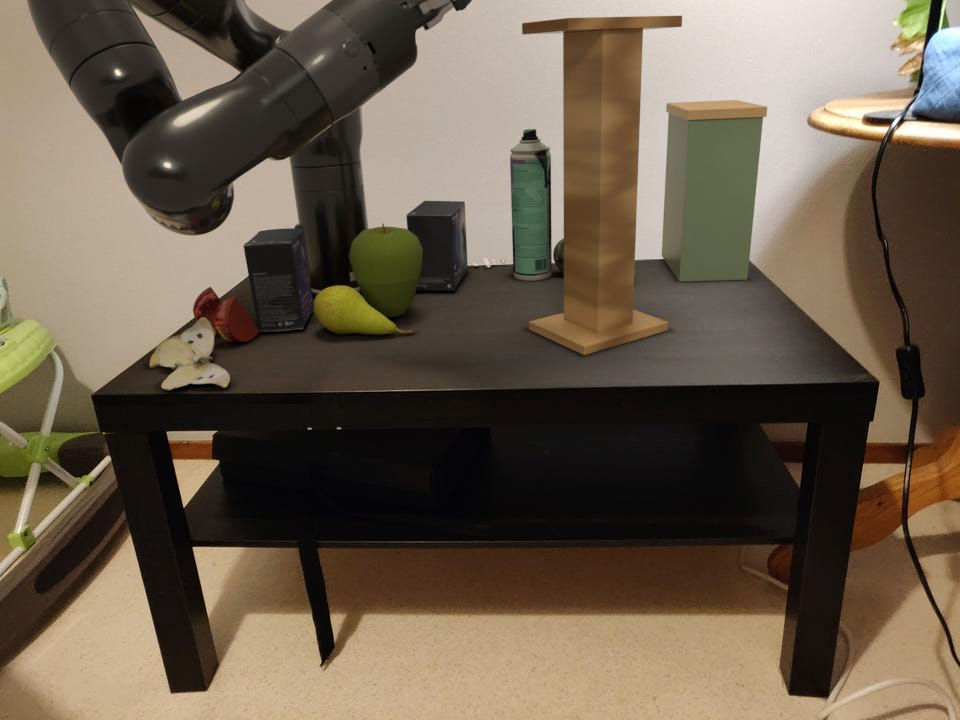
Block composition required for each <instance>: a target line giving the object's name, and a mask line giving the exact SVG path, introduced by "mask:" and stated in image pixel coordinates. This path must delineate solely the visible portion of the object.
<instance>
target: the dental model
mask: <svg viewBox="0 0 960 720" xmlns="http://www.w3.org/2000/svg"><path fill="white" fill-rule="evenodd" d="M192 313H193V317H194V319H195V321H196V322H197V321H198V320H199V319H200V318H203V317H204V318H206V319H207V320H208V321H209V322H210V324H211V325H212V328H213V332H214V337H215V336H216V335H218V336H220V337H222V338H223V339H224V340H225V341H227V342H228V343H229V342H230V343H239V342H240V343H246V342H249V341H251V340H253V339H254V338H255V337H256V336H257V335H258V333H259V332H260V331H259V330H258V328H257V325H256V324H255V322H254V321H253V319H252V318H251V317H250V316H249V314H248V312H246V310H245V308H244V307H243V306H242V304H241V302H240V301H239V300H238V299H237V297H236V296H230V297H229V296H228V297H227V298H226V299H225V300H224V301H222V300H221V298H220V297H219V296H218V294H217V293H216V292H215V290H214V289H213V288H212V286H209V287H207V288H206V289H204V290H203V291H201V292H200V294H199V295H198V296H197V298H196V299H195V301H194V303H193V307H192Z"/></svg>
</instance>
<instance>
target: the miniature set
mask: <svg viewBox="0 0 960 720" xmlns="http://www.w3.org/2000/svg"><path fill="white" fill-rule="evenodd" d="M481 261H484V265H485V267H486V268H488V269H490V267H491V264H490V262H489V258H486V257H484V258H483V259H481ZM490 261H491V262H492V263H493V265H494V266H497V262H496V258H490ZM499 261H500V263H501V264H502V265H506V261H507V259H506V258H504V257H503V256H501V257H499ZM467 264H468V262H467ZM472 266H474V267H478V266H480V264H479V263H478V262H477V261H476V260H473V261H472Z"/></svg>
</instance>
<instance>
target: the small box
mask: <svg viewBox="0 0 960 720" xmlns="http://www.w3.org/2000/svg"><path fill="white" fill-rule="evenodd" d="M466 221H467V220H466V202H465V201H462V200H461V201H459V200H452V201H451V200H450V201H449V200H423V201H422V202H420V204H418V205H417V206H416V207H414V209H412V210H411V211H410V212H408V213H406V229H407V230H408V231H410V232H411V233H413V234H414V235H415V236H416V237H417V238H418V240H419V242H420V244H421V247H422V249H423V256H422V266H421V274H420V277H419V281H418V285H417V288H416V291H431V292H432V291H434V292H435V291H439V292H441V291H443V292H453V291H455V290H456V289H457V287H458V286H459V285H460V283H461V281H462V280H463V278H464V277H465V275H466V274H467V272H468V270H469V268H468V267H469V266H468V264H467V263H468V246H467V245H468V242H467V222H466Z"/></svg>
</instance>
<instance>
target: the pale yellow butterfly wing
mask: <svg viewBox="0 0 960 720" xmlns="http://www.w3.org/2000/svg"><path fill="white" fill-rule="evenodd" d="M180 335H181V334H177V335H173V336H170V337H168V338H166V339H163V340H161V341H160V343H158V345H157V346H156V347H155V350H154V352H153V354H152V355H151V356H150V359H149V363H148V364H149V368H150V369H153V368H156V367H159V366H160V365H159V362H158V357H159V349H160V345H161V344H162V343H164V342H165V341H167V340H169V339H178V340H180V338H179V336H180Z"/></svg>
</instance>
